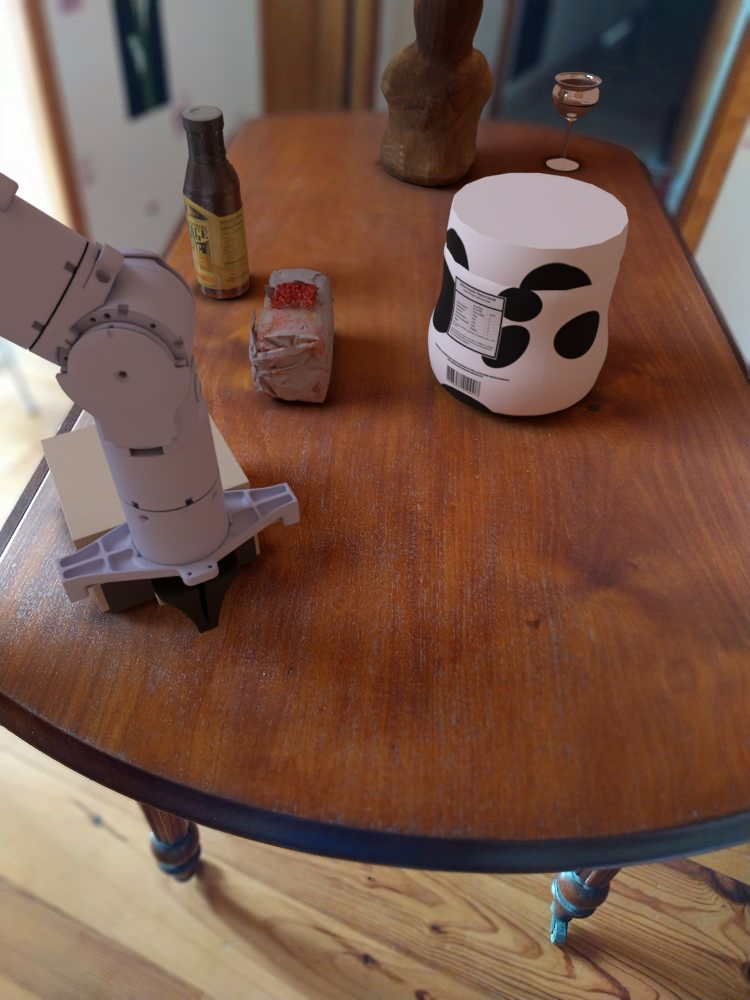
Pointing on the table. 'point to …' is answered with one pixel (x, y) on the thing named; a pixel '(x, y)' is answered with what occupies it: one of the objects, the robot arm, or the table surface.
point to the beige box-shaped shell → (108, 485)
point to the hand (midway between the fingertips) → (205, 619)
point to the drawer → (142, 590)
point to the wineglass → (573, 106)
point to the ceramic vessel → (436, 95)
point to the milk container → (526, 292)
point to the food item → (294, 337)
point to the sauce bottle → (214, 207)
